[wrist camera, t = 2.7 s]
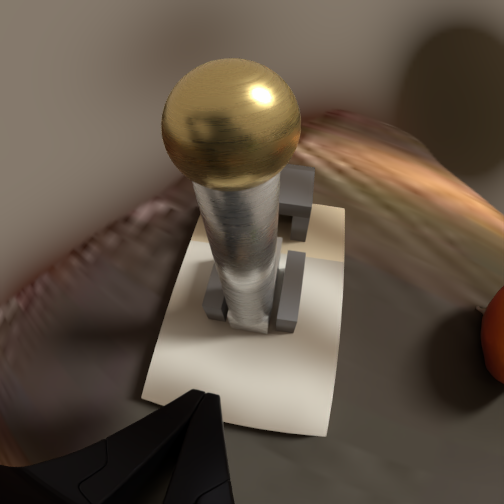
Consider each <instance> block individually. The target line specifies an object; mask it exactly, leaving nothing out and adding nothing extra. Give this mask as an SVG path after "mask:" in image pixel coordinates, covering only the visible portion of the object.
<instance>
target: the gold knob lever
mask: <svg viewBox="0 0 504 504" xmlns="http://www.w3.org/2000/svg"><path fill="white" fill-rule="evenodd" d="M161 131H162V139H163V143H164V146H165V149H166V151H167V154H168V155H169V157H170V159H171V160H172V162H173V164H174V165H175V166H176V167H177V168H178V169H179V171H180V172H181V173H182V174H184V175H185V176H186V177H187V178H189V179H190V180H191V181H192V182H193V186H194V190H195V193H196V197H197V201H198V205H199V208H200V212H201V216H202V219H203V223H204V227H205V230H206V234H207V238H208V241H209V245H210V248H211V252H212V255H213V259H214V262H215V266H216V269H217V272H218V276H219V279H220V283H221V286H222V289H223V293H224V296H225V299H226V303H227V306H228V314H227V317H228V320H229V323H230V326H231V328H235V329H240V330H246V331H252V332H258V333H264V334H267V333H268V328H269V322H270V317H271V311H272V308H273V300H274V294H275V288H276V283H277V277H278V271H279V265H280V259H281V250H282V238H281V237H277V231H278V212H279V192H280V171H281V170H282V169H283V168H284V167H285V166H286V165H287V163H288V162H289V161H290V159H291V157H292V156H293V154H294V152H295V150H296V147H297V144H298V141H299V137H300V132H301V117H300V110H299V107H298V104H297V101H296V98H295V96H294V94H293V92H292V91H291V89H290V87H289V86H288V85H287V84H286V82H285V81H284V80H283V79H282V78H281V77H280V76H279V75H277V74H276V73H275V72H274V71H272V70H271V69H269V68H268V67H266V66H264V65H261V64H259V63H257V62H254V61H250V60H246V59H239V58H229V59H219V60H214V61H210V62H207V63H205V64H203V65H200V66H198V67H196V68H195V69H193V70H192V71H190V72H189V73H188V74H186V75H185V76H184V77H183V78H182V79H181V80H180V81H179V82H178V83H177V84H176V85H175V87H174V88H173V90H172V91H171V93H170V94H169V96H168V98H167V101H166V103H165V106H164V109H163V114H162V121H161Z"/></svg>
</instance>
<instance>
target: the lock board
mask: <svg viewBox="0 0 504 504" xmlns="http://www.w3.org/2000/svg"><path fill="white" fill-rule="evenodd" d="M314 172H315V168H314V167H307V166H299V165H291V164H287V165H286V166H285V167H284V168H283V169H282V170H281V171H280V192H279V212H278V231H277V237H281V238H282V250H281V259H280V265H279V271H278V277H277V283H276V288H275V294H274V300H273V308H272V311H271V317H270V322H269V328H268V333H267V334H264V333H258V332H252V331H246V330H240V329H235V328H231V326H230V323H229V320H228V317H227V314H228V306H227V303H226V299H225V296H224V293H223V289H222V286H221V283H220V279H219V276H218V272H217V269H216V266H215V262H214V259H213V255H212V252H211V248H210V245H209V241H208V238H207V234H206V230H205V227H204V223H203V219H202V216H201V214H200V217H199V219H198V222H197V225H196V227H195V230H194V233H193V235H192V238H191V241H190V244H189V246H188V249H187V252H186V255H185V258H184V260H183V263H182V266H181V269H180V272H179V275H178V278H177V281H176V284H175V286H174V289H173V292H172V295H171V299H170V302H169V305H168V308H167V311H166V314H165V317H164V320H163V324H162V327H161V330H160V333H159V337H158V340H157V343H156V347H155V350H154V353H153V357H152V360H151V364H150V367H149V371H148V374H147V378H146V382H145V385H144V389H143V393H142V397H141V398H142V399H145V400H148V401H151V402H154V403H157V404H160V405H163V406H165V405H166V404H168V403H170V402H171V401H173V400H175V399H176V398H178V397H180V396H181V395H183V394H185V393H186V392H188V391H189V390H191V389H197V390H201V391H205V392H206V393H208V392H209V393H214V394H218V395H220V399H221V408H222V417H223V422H227V423H232V424H237V425H242V426H247V427H253V428H258V429H264V430H271V431H278V432H285V433H293V434H303V435H313V436H326V434H327V428H328V423H329V417H330V410H331V404H332V397H333V390H334V382H335V374H336V366H337V357H338V348H339V337H340V326H341V312H342V297H343V276H344V238H345V211H344V209H343V208H337V207H331V206H324V205H317V204H312V200H313V187H314Z"/></svg>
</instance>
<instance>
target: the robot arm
mask: <svg viewBox="0 0 504 504" xmlns="http://www.w3.org/2000/svg"><path fill="white" fill-rule="evenodd" d="M0 504H235V503H234V498H233V493H232V486H231V481H230V473H229V466H228V459H227V451H226V443H225V435H224V426H223V417H222V408H221V399H220V395H218V394H214V393H209V392H208V393H206V392H205V391H201V390H197V389H191V390H189V391H188V392H186V393H185V394H183V395H181V396H180V397H178V398H176V399H175V400H173V401H171V402H170V403H168V404H166V405H165V406H163V407H161V408H160V409H158V410H156V411H154V412H153V413H151V414H149V415H147V416H146V417H144V418H142V419H140V420H139V421H137V422H135V423H133V424H131V425H129V426H128V427H126V428H124V429H122V430H120V431H118V432H116V433H115V434H113V435H111V436H109V437H107V438H106V439H103V440H101V441H99V442H97V443H95V444H93V445H90V446H88V447H86V448H84V449H81V450H79V451H76V452H73V453H71V454H68V455H65V456H62V457H59V458H55V459H52V460H49V461H45V462H41V463H38V464H34V465H30V466H25V467H8V466H3V465H0Z"/></svg>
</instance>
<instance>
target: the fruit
mask: <svg viewBox="0 0 504 504" xmlns="http://www.w3.org/2000/svg"><path fill="white" fill-rule="evenodd" d="M476 309H477V310H478V311H480V312H481V313H482V314H483V318H482V325H481V344H482V349H483V353H484V359H485V365H486V368H487V370H488V371H489V373H490V374H491V375H492V376H493V377H494V378H495V379H496V380H498V381H499V382H501V383H503V384H504V286H503V287H502V288H501V289H500V290H499V291H498V292H497V294H496V295H495V296H494V298H493V299H492V301H491V302H490V303H489V305H488V306H487V307H486V308H485V309H482V308H480V307H478V306H477V307H476Z"/></svg>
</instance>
